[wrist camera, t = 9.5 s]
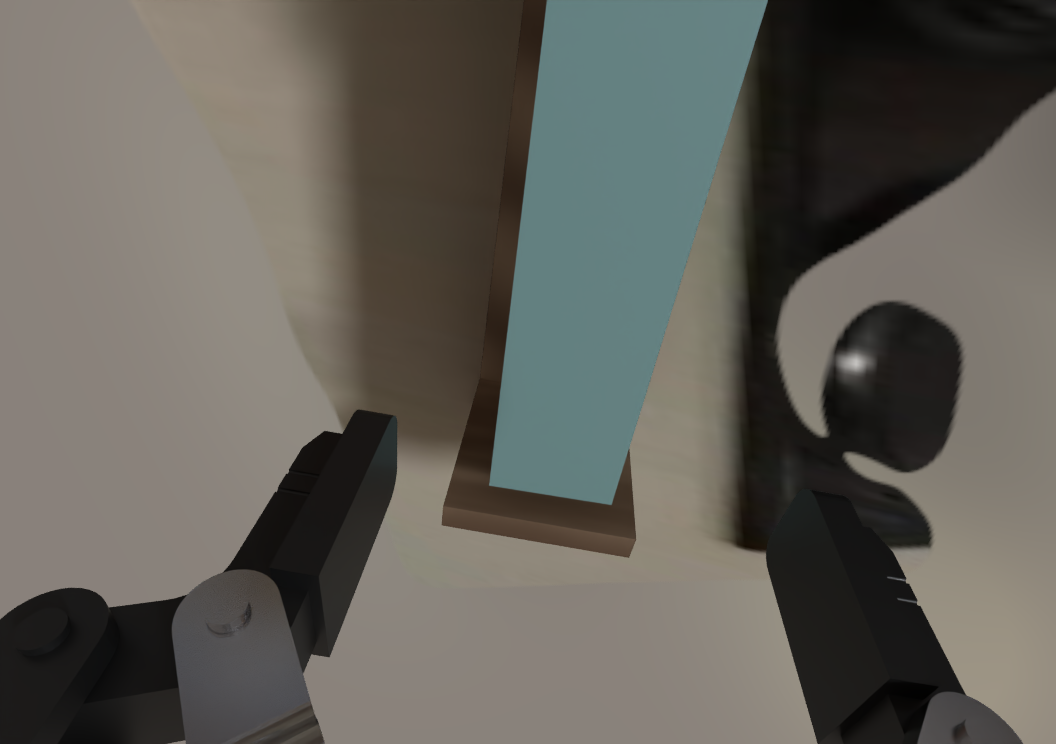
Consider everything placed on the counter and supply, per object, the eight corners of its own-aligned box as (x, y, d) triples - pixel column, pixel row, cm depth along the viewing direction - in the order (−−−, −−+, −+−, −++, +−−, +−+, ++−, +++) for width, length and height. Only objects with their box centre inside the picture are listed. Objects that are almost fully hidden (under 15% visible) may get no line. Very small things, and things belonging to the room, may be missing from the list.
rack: (552, -217, 18) (516, -385, 10) (800, -173, 18) (973, -303, 10) (478, 409, 33) (439, 551, 25) (612, 433, 33) (618, 582, 25)
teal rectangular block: (563, -70, 15) (557, -82, 12) (747, -43, 15) (782, -48, 12) (500, 429, 26) (489, 485, 23) (609, 446, 26) (611, 505, 23)
